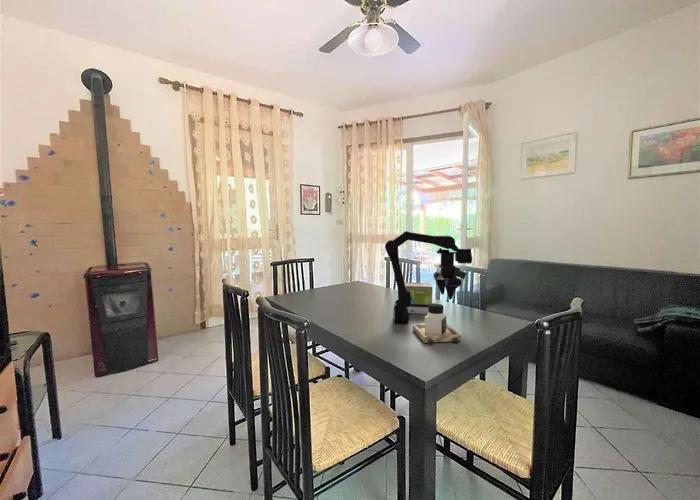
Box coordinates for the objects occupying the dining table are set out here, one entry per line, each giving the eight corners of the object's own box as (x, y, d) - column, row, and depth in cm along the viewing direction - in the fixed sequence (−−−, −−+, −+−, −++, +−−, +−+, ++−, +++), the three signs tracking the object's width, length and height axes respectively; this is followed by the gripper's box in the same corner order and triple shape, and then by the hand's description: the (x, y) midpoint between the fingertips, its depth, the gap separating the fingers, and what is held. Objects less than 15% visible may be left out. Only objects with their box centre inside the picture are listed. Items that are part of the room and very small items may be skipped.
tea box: (402, 313, 157) (402, 285, 155) (401, 308, 167) (401, 281, 165) (432, 314, 155) (432, 286, 153) (429, 308, 165) (430, 282, 163)
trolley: (424, 344, 117) (425, 338, 117) (412, 329, 134) (412, 323, 134) (462, 342, 119) (462, 336, 118) (444, 327, 136) (444, 321, 135)
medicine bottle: (441, 336, 122) (442, 307, 120) (424, 333, 125) (424, 305, 124) (446, 331, 128) (446, 303, 126) (429, 328, 131) (429, 301, 130)
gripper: (474, 266, 129) (472, 301, 131) (455, 260, 148) (454, 291, 149) (448, 266, 128) (447, 302, 130) (433, 260, 147) (432, 292, 148)
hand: (446, 296), depth 139 cm, fingers open, 9 cm apart
